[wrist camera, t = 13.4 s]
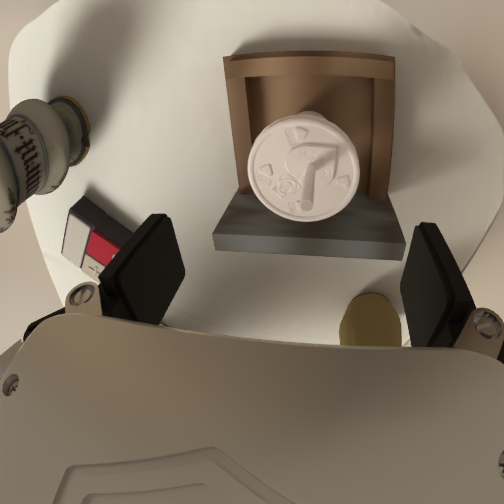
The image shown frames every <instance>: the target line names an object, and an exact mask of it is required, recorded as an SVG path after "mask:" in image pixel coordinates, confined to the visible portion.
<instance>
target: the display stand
mask: <svg viewBox="0 0 504 504" xmlns="http://www.w3.org/2000/svg"><path fill="white" fill-rule="evenodd" d="M223 62H224V70H225V79H226V87H227V95H228V103H229V111H230V119H231V127H232V135H233V143H234V151H235V159H236V167H237V174H238V182H239V188H238V190H237V192H236V193H235V195H234V197H233V199H232V200H231V202H230V204H229V205H228V207H227V209H226V211H225V212H224V214H223V216H222V218H221V219H220V221H219V223H218V225H217V226H216V228H215V230H214V232H213V233H212V235H213V240H214V245H215V250H221V251H238V252H256V253H274V254H292V255H309V256H327V257H345V258H363V259H381V260H398V261H402V258H403V255H404V251H405V247H406V242H405V239H404V236H403V233H402V230H401V227H400V225H399V222H398V219H397V216H396V214H395V211H394V209H393V206H392V203H391V201H390V198H389V196H388V193H387V192H388V184H389V175H390V166H391V156H392V144H393V129H394V108H395V57H391V56H383V55H375V54H365V53H352V52H334V51H285V52H266V53H253V54H243V55H234V56H226V57H223ZM303 111H314V112H317V113H319V114H321V115H323V116H324V117H325V118H326V119H327V120H328V121H330V122H331V123H333V124H335V125H337V126H338V127H339V128H340V129H341V130H342V131H343V132H344V133H345V134H347V136H348V137H349V139H350V140H351V142H352V143H353V145H354V147H355V149H356V153H357V156H358V159H359V167H360V178H359V184H358V187H357V190H356V192H355V194H354V196H353V198H352V199H351V201H350V202H349V203H348V204H347V205H346V206H345V207H344V208H343V209H342V210H341V211H339V212H338V213H336V214H335V215H333V216H331V217H328V218H326V219H322V220H318V221H311V222H303V221H295V220H290V219H287V218H284V217H282V216H280V215H278V214H276V213H274V212H273V211H271V210H270V209H268V208H267V207H266V206H265V205H264V204H263V203H262V202H261V201H260V200H259V199H258V197H257V196H256V194H255V193H254V191H253V189H252V187H251V184H250V181H249V177H248V158H249V154H250V151H251V149H252V147H253V145H254V142H255V140H256V138H257V137H258V136H259V134H260V133H261V132H262V131H263V130H264V128H266V127H267V126H269V125H270V124H271V123H273V122H274V121H276V120H278V119H281V118H284V117H287V116H290V115H296V114H298V113H300V112H303Z"/></svg>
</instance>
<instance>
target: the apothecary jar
mask: <svg viewBox="0 0 504 504" xmlns="http://www.w3.org/2000/svg"><path fill="white" fill-rule="evenodd" d="M89 132H90V129H89V124H88V120H87V117H86V114H85V113H84V111H83V109H82V108H81V106H80V105H79V104H78V103H77V102H76V101H75V100H73V99H71V98H69V97H66V96H61V97H57V98H54V99H52V100H51V101H50V102H49V103H46V102H44V101H42V100H39V99H28V100H25V101H22V102H20V103H19V104H17V105H16V106H15V107H14V108H13V109H12V110H11V112H10V113H9V115H8V116H7V118H6V120H5V121H3V122H2V123H0V233H2V232H4V231H6V230H7V229H8V228H9V227H10V226H11V225H12V223H13V221H14V219H15V216H16V213H17V207H18V206H19V205H20V204H21V203H23V202H24V201H25V200H26V199H28V198H29V197H30V196H32V195H33V194H36V195H44V194H48V193H51V192H53V191H54V190H56V189H57V188H58V187H59V186H60V185H61V184H62V182H63V181H64V179H65V177H66V175H67V172H68V169H69V167H72V166H75V165H77V164H79V163H80V162H81V161H82V160H83V159H84V158H85V156H86V154H87V152H88V149H89V143H88V138H87V136H88V133H89Z"/></svg>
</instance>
